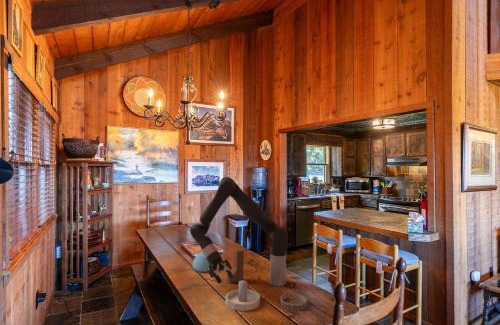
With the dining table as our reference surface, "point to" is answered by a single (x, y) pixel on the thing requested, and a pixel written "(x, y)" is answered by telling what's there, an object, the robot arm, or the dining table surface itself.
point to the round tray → (235, 304)
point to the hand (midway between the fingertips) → (226, 280)
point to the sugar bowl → (200, 263)
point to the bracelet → (293, 306)
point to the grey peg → (242, 291)
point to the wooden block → (237, 266)
